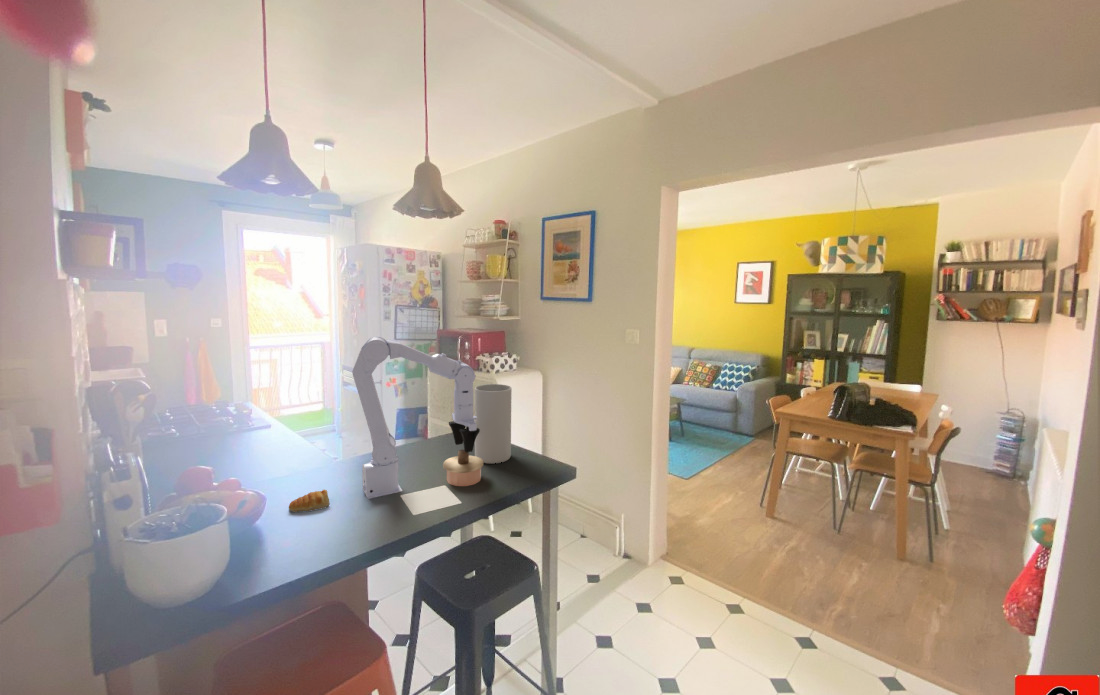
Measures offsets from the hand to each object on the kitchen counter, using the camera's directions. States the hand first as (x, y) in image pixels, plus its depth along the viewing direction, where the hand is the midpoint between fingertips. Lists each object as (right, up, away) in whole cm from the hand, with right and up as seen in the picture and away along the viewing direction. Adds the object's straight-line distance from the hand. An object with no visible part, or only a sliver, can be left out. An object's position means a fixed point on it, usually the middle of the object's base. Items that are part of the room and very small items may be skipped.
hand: (463, 447), depth 132 cm
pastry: (-37, -12, -17) cm, 42 cm away
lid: (0, -5, +1) cm, 5 cm away
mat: (-7, -12, -13) cm, 18 cm away
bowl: (0, -10, +1) cm, 10 cm away
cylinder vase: (+6, -8, +21) cm, 23 cm away
